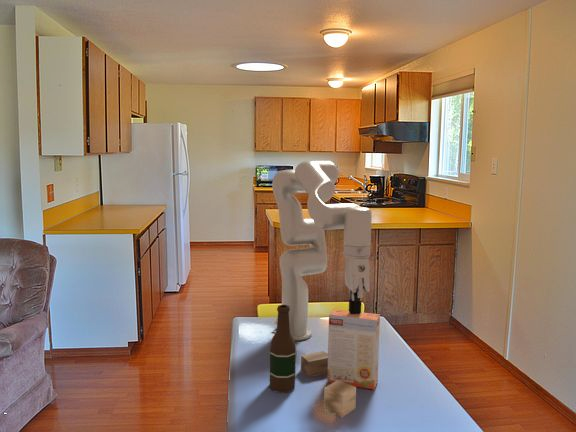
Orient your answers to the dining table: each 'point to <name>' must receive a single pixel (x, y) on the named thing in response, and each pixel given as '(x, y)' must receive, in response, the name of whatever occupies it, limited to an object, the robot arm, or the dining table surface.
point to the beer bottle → (282, 354)
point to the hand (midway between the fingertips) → (354, 312)
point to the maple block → (340, 398)
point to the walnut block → (314, 363)
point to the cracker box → (353, 348)
